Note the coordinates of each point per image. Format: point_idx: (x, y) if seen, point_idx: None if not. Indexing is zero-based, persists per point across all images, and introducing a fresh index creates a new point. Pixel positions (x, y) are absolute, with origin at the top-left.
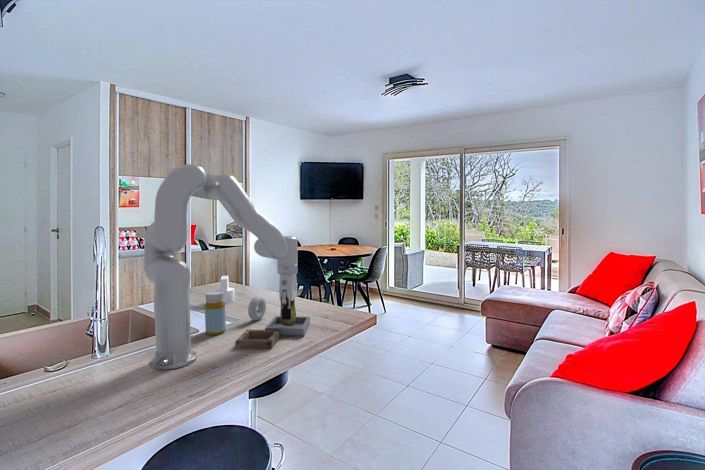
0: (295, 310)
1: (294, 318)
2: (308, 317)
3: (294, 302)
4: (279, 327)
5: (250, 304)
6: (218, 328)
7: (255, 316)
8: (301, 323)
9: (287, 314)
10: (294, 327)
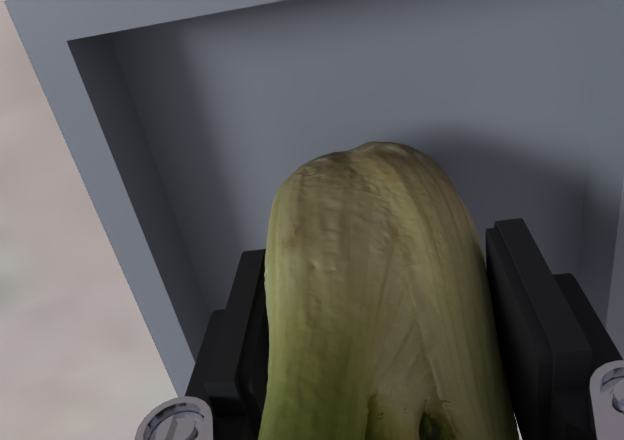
0: (302, 257)
1: (382, 181)
2: (55, 16)
3: (288, 418)
4: (619, 268)
5: None
6: None
7: None
8: (161, 96)
9: (591, 310)
10: (346, 130)
